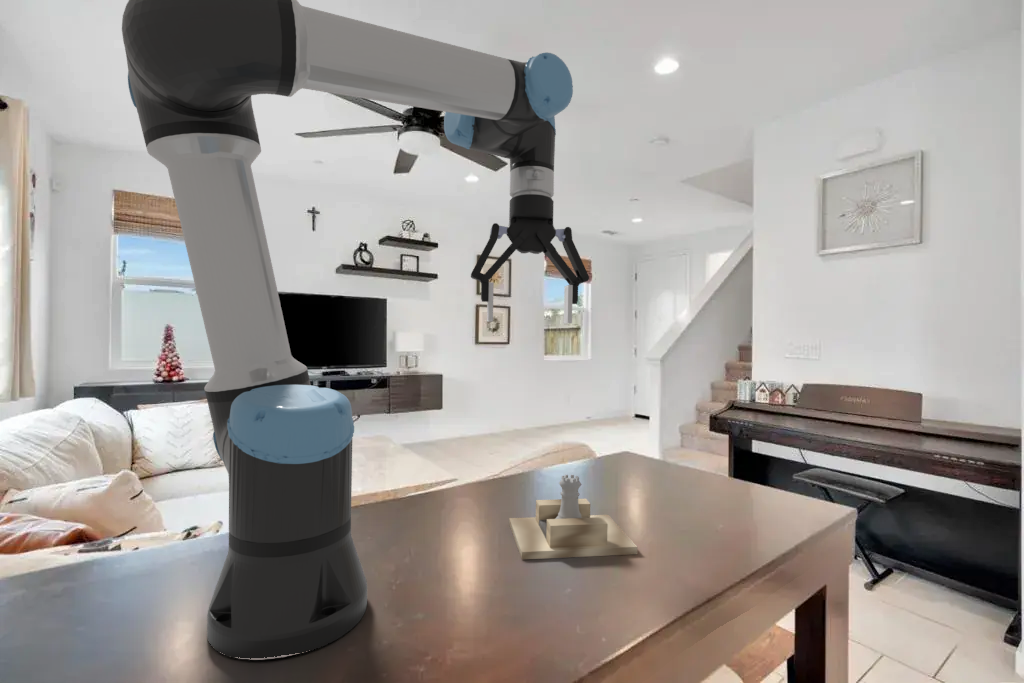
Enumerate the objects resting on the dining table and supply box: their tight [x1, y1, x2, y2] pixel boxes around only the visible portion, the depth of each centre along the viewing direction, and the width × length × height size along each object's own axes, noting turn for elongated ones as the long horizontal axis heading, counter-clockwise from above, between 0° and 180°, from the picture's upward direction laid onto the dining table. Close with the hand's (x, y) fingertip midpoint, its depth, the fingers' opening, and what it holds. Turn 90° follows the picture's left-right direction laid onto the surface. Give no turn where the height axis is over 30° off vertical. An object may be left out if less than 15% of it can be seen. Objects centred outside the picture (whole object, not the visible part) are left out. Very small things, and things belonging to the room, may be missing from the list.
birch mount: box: [508, 498, 638, 561], centre depth 73 cm, size 16×12×4 cm
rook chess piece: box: [555, 474, 582, 519], centre depth 72 cm, size 4×4×8 cm
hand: (529, 322), depth 85 cm, fingers open, 13 cm apart
